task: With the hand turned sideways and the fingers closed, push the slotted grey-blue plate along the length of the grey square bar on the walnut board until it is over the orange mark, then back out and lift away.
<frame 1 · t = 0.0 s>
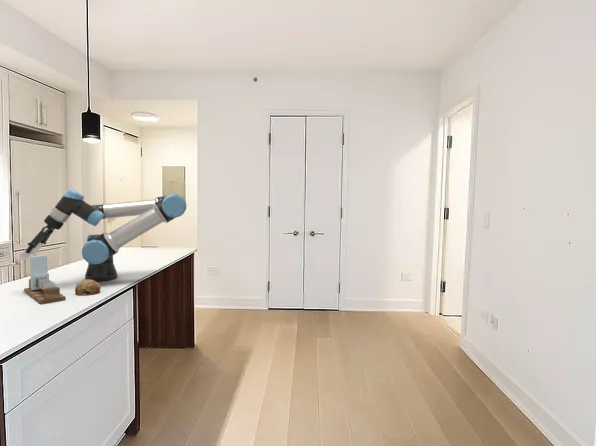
hand: (27, 256, 183), 15 cm above the table, tool tilted 35°, fingers open, 13 cm apart
bread roll: (87, 293, 178), on the table
grey square bar: (43, 283, 171), point 6 cm above the table
slotted grey-blue plate: (39, 272, 175), point 10 cm above the table, slide at -6.0 cm
base board: (44, 295, 172), on the table
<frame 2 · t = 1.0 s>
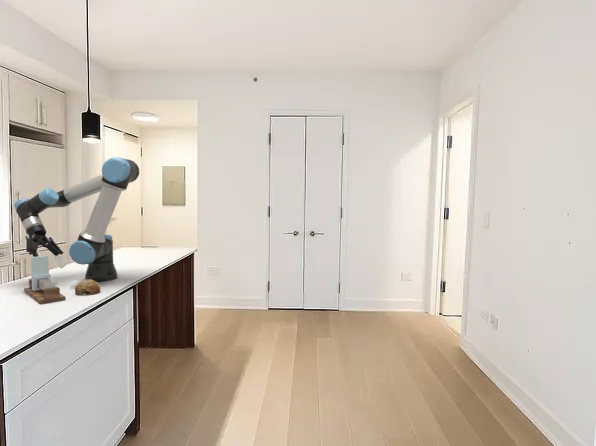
hand: (52, 266, 183), 11 cm above the table, tool tilted 35°, fingers open, 13 cm apart
slotted grey-blue plate: (40, 273, 174), point 10 cm above the table, slide at -3.8 cm, touching gripper
everything else where it was.
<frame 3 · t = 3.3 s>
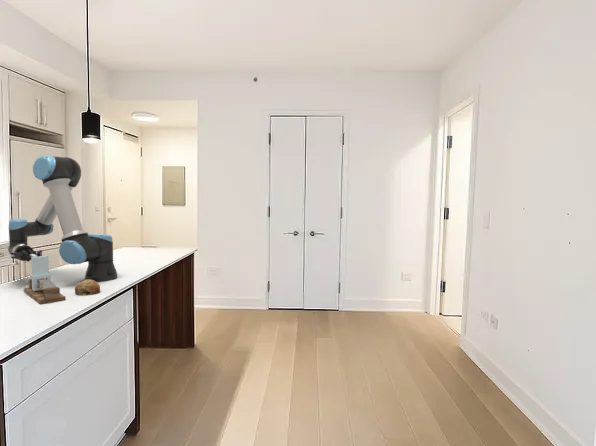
hand: (35, 258, 179), 15 cm above the table, tool horizontal, fingers closed
slotted grey-blue plate: (40, 273, 173), point 9 cm above the table, slide at -3.6 cm
everything else where it was.
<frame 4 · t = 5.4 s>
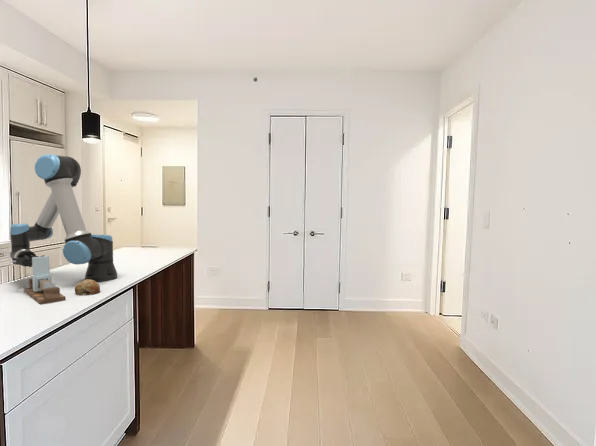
hand: (37, 264, 173), 14 cm above the table, tool horizontal, fingers closed
slotted grey-blue plate: (41, 273, 173), point 10 cm above the table, slide at -2.3 cm, touching gripper
everything else where it was.
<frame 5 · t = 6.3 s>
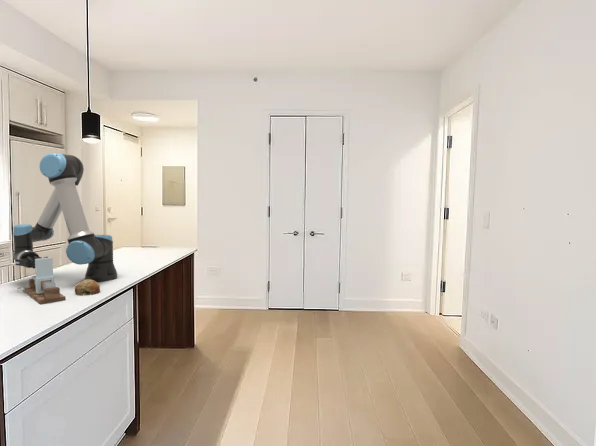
hand: (41, 265, 170), 14 cm above the table, tool horizontal, fingers closed
slotted grey-blue plate: (44, 275, 169), point 9 cm above the table, slide at 2.7 cm, touching gripper
everything else where it was.
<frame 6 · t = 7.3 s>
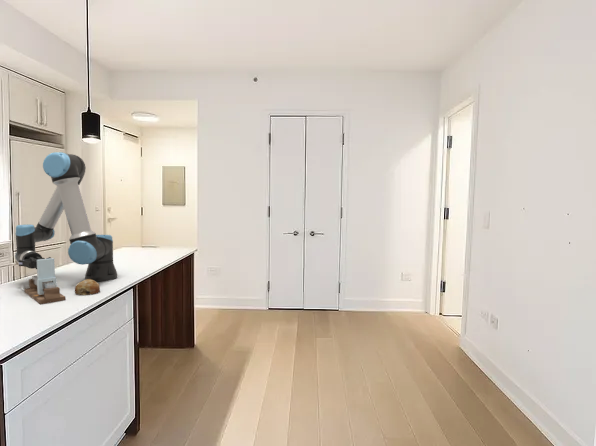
hand: (44, 266, 168), 13 cm above the table, tool horizontal, fingers closed
slotted grey-blue plate: (46, 276, 167), point 10 cm above the table, slide at 5.5 cm, touching gripper
everything else where it was.
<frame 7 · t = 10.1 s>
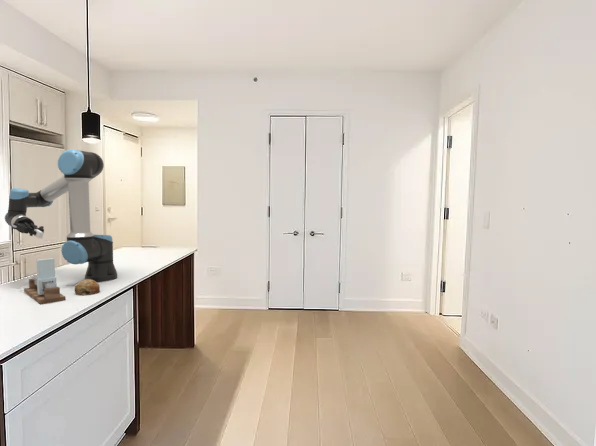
hand: (40, 235, 177), 26 cm above the table, tool horizontal, fingers closed
slotted grey-blue plate: (46, 276, 167), point 10 cm above the table, slide at 5.5 cm
everything else where it was.
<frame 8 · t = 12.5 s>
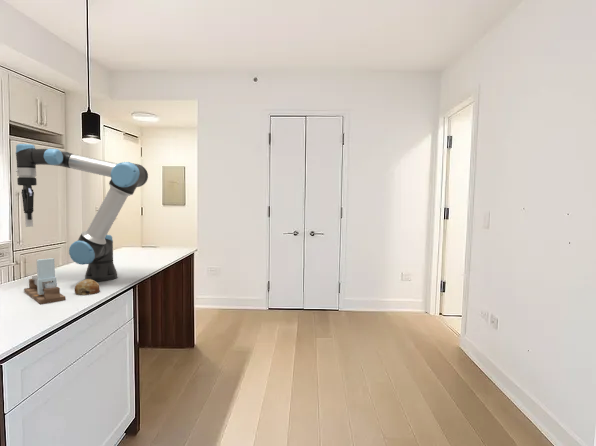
hand: (29, 226, 190), 28 cm above the table, tool pointing down, fingers closed
nothing on the table moved.
at the end: slotted grey-blue plate slide at 5.5 cm; bread roll moved 1.0 cm from its start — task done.
